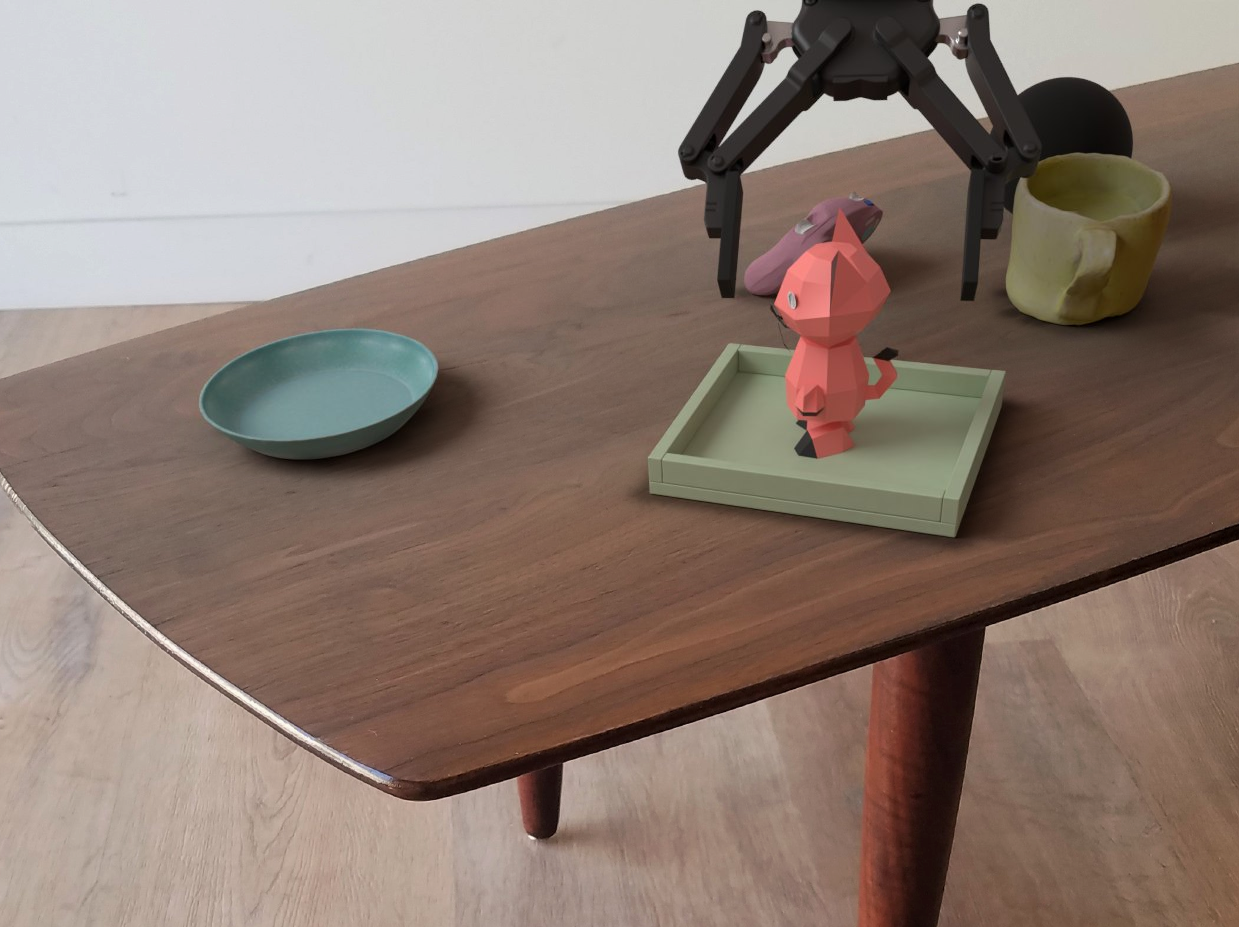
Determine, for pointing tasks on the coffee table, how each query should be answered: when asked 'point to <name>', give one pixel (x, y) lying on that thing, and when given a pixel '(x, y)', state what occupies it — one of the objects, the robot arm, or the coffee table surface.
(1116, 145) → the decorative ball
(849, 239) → the cat figurine
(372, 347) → the saucer
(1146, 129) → the coffee table surface
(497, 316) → the coffee table surface
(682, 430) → the sage green tray
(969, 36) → the robot arm
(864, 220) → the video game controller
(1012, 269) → the mug
